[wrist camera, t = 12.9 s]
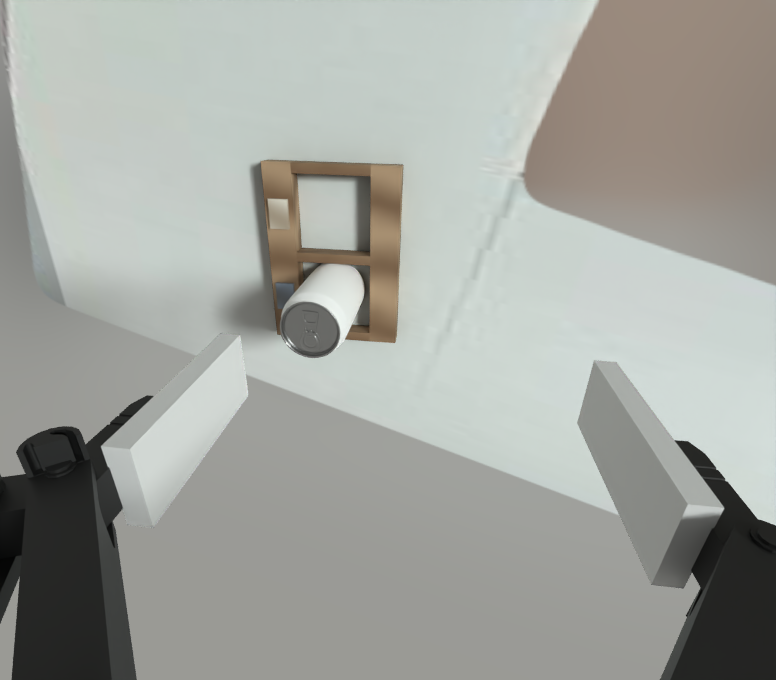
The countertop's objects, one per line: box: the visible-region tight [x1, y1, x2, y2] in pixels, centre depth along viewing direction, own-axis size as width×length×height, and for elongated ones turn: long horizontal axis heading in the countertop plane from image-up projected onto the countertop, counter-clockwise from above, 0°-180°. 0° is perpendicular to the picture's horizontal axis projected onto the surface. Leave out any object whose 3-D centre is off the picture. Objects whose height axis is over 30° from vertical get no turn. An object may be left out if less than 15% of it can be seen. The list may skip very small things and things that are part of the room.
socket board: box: [261, 160, 403, 343], centre depth 47 cm, size 19×14×2 cm
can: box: [280, 263, 365, 358], centre depth 45 cm, size 6×6×12 cm
